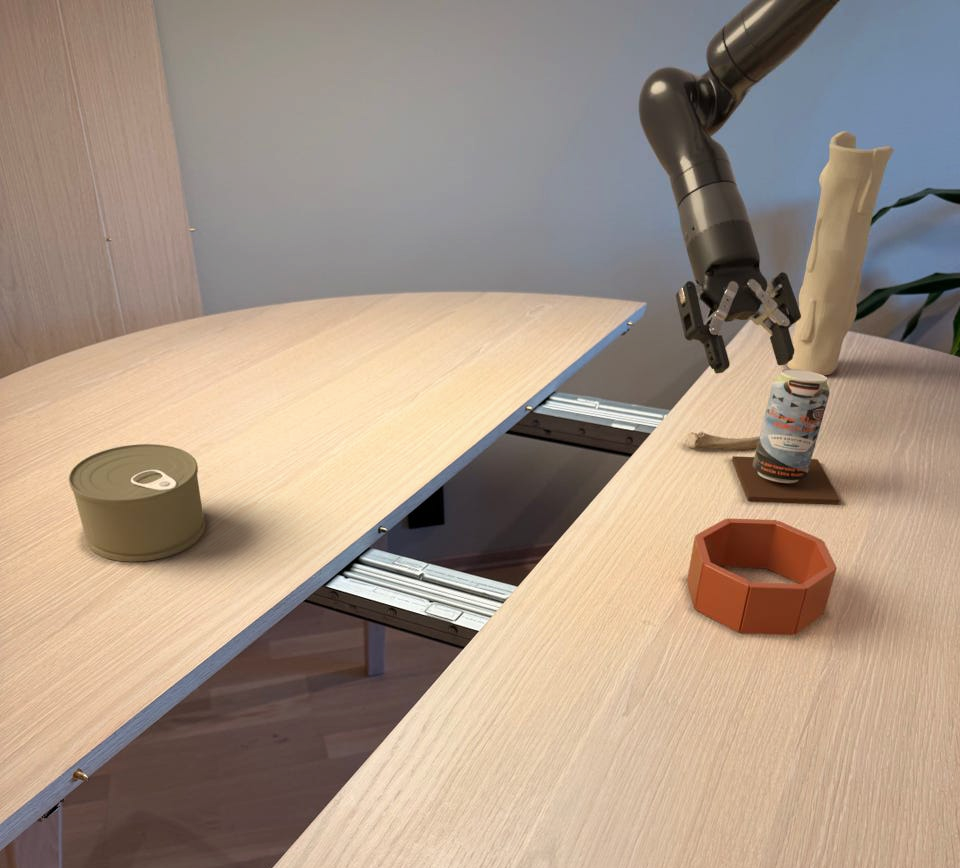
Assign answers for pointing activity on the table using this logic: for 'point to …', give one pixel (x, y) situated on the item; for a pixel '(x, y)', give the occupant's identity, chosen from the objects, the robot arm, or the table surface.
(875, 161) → the pillar candle
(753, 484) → the coaster
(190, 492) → the can
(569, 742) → the table surface
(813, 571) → the octagonal ring
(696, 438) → the bone
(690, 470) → the table surface
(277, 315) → the table surface
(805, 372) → the beverage can
